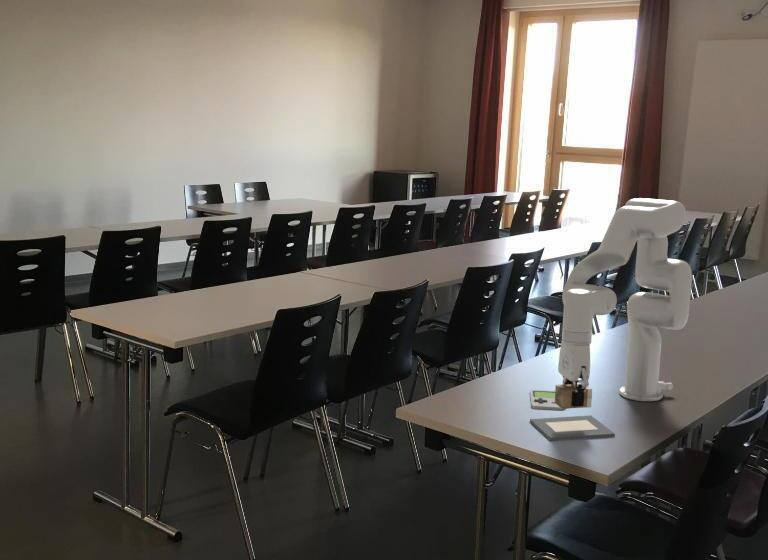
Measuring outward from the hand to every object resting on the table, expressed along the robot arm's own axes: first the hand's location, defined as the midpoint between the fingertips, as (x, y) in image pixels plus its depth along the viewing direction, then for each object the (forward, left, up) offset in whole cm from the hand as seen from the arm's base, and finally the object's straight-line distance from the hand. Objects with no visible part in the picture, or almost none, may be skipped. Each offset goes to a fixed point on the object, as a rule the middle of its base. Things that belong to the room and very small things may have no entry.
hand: (572, 401), depth 220 cm
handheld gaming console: (-3, -23, -8) cm, 25 cm away
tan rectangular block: (0, 0, -1) cm, 1 cm away
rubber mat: (0, 0, -8) cm, 8 cm away
